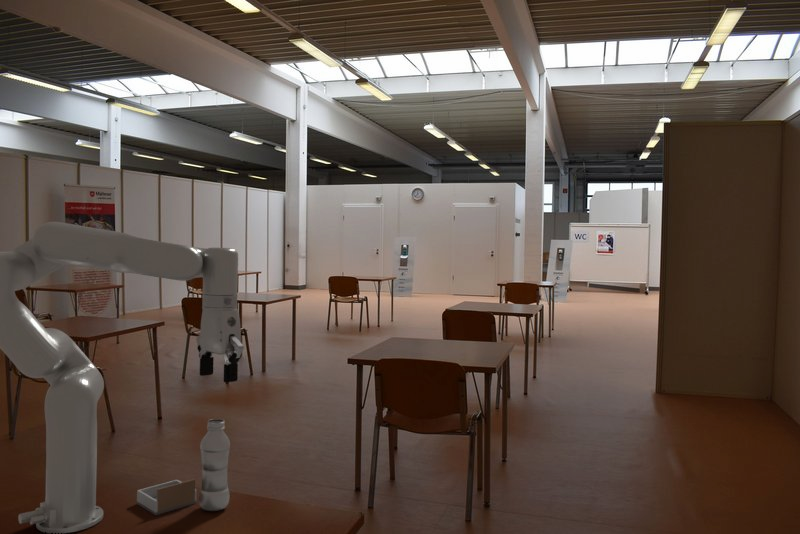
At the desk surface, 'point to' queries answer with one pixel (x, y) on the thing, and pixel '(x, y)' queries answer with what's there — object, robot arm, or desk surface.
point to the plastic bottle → (214, 467)
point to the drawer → (167, 496)
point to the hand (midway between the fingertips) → (218, 378)
